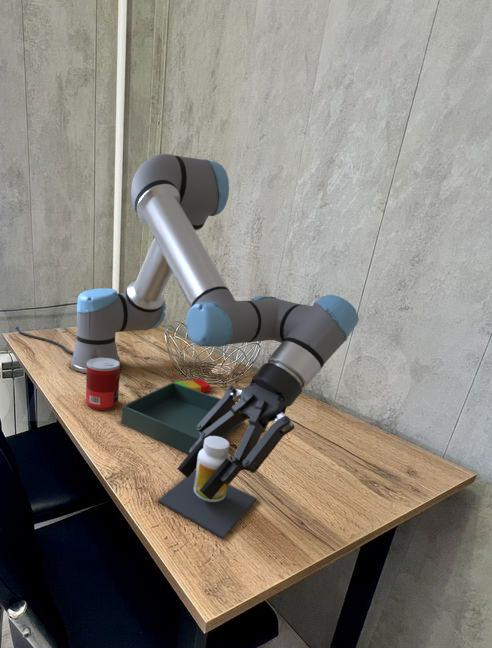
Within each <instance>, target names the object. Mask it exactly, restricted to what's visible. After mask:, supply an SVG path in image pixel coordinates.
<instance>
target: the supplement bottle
mask: <svg viewBox="0 0 492 648" xmlns="http://www.w3.org/2000/svg"><path fill="white" fill-rule="evenodd" d="M229 451H230V442H229V441H228V439H225V437H224V438H222V437H218V436H209V437H207V438H205V440H204V445H203V449H201V450H200V451H199V453H198V458H197V466H196V469H195V470H196V473H195V480H194V492H195V494H196V495H197V496H198V497H199V498H201V499H203V500H205V501H209V502H217V501H221V500H222V499H224V497H225V496H226V491H227V485H226V484H225V483H224V485H223V486H222V487H221V488H220V490H219V491H218V492H217V493H216V494H215V496H214V497H213V498H212V499H211V500H210V499H209V498H208V497H206V496H205V495H204V494H203V493H202V492H201V491H200V489H201V488H202V487H203V486H204V484H205V483H206V482H207V481H208V480H209V478H210V477H211V476H212V475H213V474H214V472H215V471H216V470H217V469H218V468H219V466H220V465H221V464H222V463H223V462H224V460H225V459H226V458H227V459H229V460H230V456H231V454H230V453H229ZM230 461H231V460H230ZM231 462H232V461H231Z"/></svg>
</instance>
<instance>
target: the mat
mask: <svg viewBox="0 0 492 648" xmlns="http://www.w3.org/2000/svg"><path fill="white" fill-rule="evenodd" d="M195 473H196V469H195V470H194V471H193V472H192V474H191V475H190V476H189V477H188V478H187V477H186V476H185V477H184V479H182V480H181V481H180V482H179V483H178V484H176V485H175V486H174V487H173V488H171V489H170V490H169V491H168V492H167V493H165V494H164V495H163V496H162V497H160V498H159V499H158V503H159V504H161V506H164V507H165V508H168V509H169V510H171V511H173V512H174V513H176V514H178V515H180V516H181V517H183V518H185V519H187V520H188V521H190V522H192V523H194V524H195V525H197V526H199V527H201V528H202V529H205V530H206V531H208V532H209V533H211V534H213V535H215V536H216V537H218V538H220V539H221V540H224V539H225V537H226V536H227V535H228V534H229V533H230V532H231V530H232V529H233V528H234V527H235V526H236V525H237V524H238V522H239V521H240V520H241V519H242V517H243V516H244V515H245V514H246V512H248V510H249V509H251V507H252V505H254V503H255V502H256V500H257V498H256V497H255V496H253V495H251V494H249V493H246V492H244V491H242V490H240V489H238V488H236V487H234V486H233V485H230V484H228V485H227V491H226V496H225V497H224V499H222V500H221V501H217V502H209V501H205V500H203V499H201V498H199V497H198V496H197V495H196V494H195V492H194V480H195Z"/></svg>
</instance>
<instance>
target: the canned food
mask: <svg viewBox="0 0 492 648" xmlns="http://www.w3.org/2000/svg"><path fill="white" fill-rule="evenodd" d="M120 375H121V362H120V363H119V362H118V361H117V360H114V359H110V358H94V359H90V360H89V361H87V373H86V379H85V380H86V381H85V383H86V385H85V386H86V387H85V402H86V405H87V407H89V408H90V409H93V410H96V411H109V410H113V409H115V408H116V407H117V406H118V403H119V393H120V392H119V391H120Z"/></svg>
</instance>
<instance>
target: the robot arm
mask: <svg viewBox="0 0 492 648" xmlns="http://www.w3.org/2000/svg"><path fill="white" fill-rule="evenodd" d="M229 196H230V181H229V177H228V172H227V171H226V169H225V167H224V166H223V165H222V164H221V163H219V162H217V161H213V160H209V159H207V158H203V159H201V158H195V157H188V156H182V155H175V154H170V153H160V154H155V155H153V156H151V157H149V158H148V159H146V160H145V161H144V162H143V163H141V165H140V166H139V167H138V168H137V170H136V172H135V174H134V176H133V177H132V182H131V188H130V197H131V202H132V206H133V209H134V211H135V213H136V215H137V217H138V219H139V221H141V222H142V223H144V224H146V225H148V228H149V230H150V231H151V234H152V235H153V239H152V241H151V243H150V245H149V246H150V247H149V249H148V251H147V253H146V256H145V258H144V260H143V263H142V265H141V267H140V270H139V273H138V275H137V276H136V280H134V281H132V282H130V283H129V284H128V286H127V288H126V290H125V292H123V293H119V292H118V290H116V289H114V288H111V287H110V288H109V287H106V288H104V287H103V288H102V287H99V288H92V289H88V290H84V291H82V292H81V293H79V295H78V296H77V305H76V343H75V346H74V349H73V351H72V350H68V349H67V348H66V347H65V346H64V345H63V344H61V343H58V342H57V341H54V340H52V339H49V338H46V337H42V336H38V335H33V334H30V333H26V332H23V331H21V330H20V327H19V326H16V327H15V330H17V332H18V333H19V334H21V335H23V336H26V337H30V338H34V339H37V340H42V341H45V342H49V343H52V344H54V345H57V346H58V347H60V348H61V349H62V350H63V351H65V352H66V353H68V354H71V357H70V367H71V368H72V369H73V370H74V371H77V372H78V373H81V374H82V373H83V374H87V361H89V360H90V359H94V358H110V359H114V360H117V361H118V362H119V363H120V364H121V359H120V356H119V353H118V349H117V345H116V333H124V332H137V331H143V332H145V331H149V330H153V329H157V328H159V327H160V326H161V324H162V323H163V321H164V319H165V316H166V312H165V311H166V310H167V305H166V300H165V297H164V294H163V293H164V291H165V289H166V288H167V285H168V284H169V281H170V279H171V277H172V275H173V276H174V278H175V281H176V282H177V285H178V287H179V288H180V291H181V292H182V294H183V296H184V298H185V301H186V302H187V304H188V306H189V309H188V311H187V314H186V318H185V326H186V327H187V330H186V334H187V336H188V337H189V339H190V340H191V342H192V343H193V344H195V345H196V346H198V347H202V348H203V347H205V348H206V347H208V348H209V347H210V348H211V347H216V348H219V347H224V346H229V345H234V344H235V345H236V344H244V343H245V344H246V343H247V344H248V343H255V342H256V343H258V342H264V341H265V342H266V341H275V342H278V343H280V344H279V345H278V346H277V348H276V349H275V350H274V351H273V352H272V353H271V354H270V356H269V357H267V359H266V361H267V362H265V363H263V364H262V365H261V366H260V368H259V369H258V370H257V371H256V372H255V374H253V376H252V378H251V382H250V383H249V384H248V385H247V386H245V387H243V388H242V389H238V388H235V387H234V386H233V385H229V386H228V387H227V388H226V389H225V392H224V394H223V396H222V397H220V400H219V401H218V403H217V404H216V405H215V406H214V407H213V408H212V409H211V410H210V411H209V413H208V414H207V415H206V416H205V417H204V418H203V419H202V420H201V421H200V423H199V424H198V425H197V426H196V429H197V430H198V431H199V433H200V438H199V439H198V440H197V441H196V443H195V444H194V445H193V446H192V447H191V448H190V450H189V453H190V454H187V456H186V457H185V458H184V460H183V461H182V462H181V463H180V465H178V467H177V468H176V470H177V471H178V472H180V473H181V475H183V476H185V478H186V477H187V478H188V477H189V476H190V475H191V474H192V472H193V471H194V470H196V466H197V458H198V453H199V451H200V450H201V449H203V445H204V440H205V438H207V437H209V436H218V437H221V436H222V435H224V434H225V433H226V432H228V431H229V430H230V429H231V428H233V427H234V426H235V425H237V424H238V423H239V422H242V423H244V422H245V421H246V420H248V426H247V428H246V430H245V431H244V433H243V436H242V438H241V440H240V442H239V444H238V446H237V448H236V449H235V452H234V454H233V456H231V455H230V460H231V461H230V460H229V459H227V458H226V459H225V460H224V462H223V463H222V464H221V465H220V466H219V468H218V469H217V470H216V471H215V472H214V474H213V475H212V476H211V477H210V478H209V480H208V481H207V482H206V483H205V484H204V486H203V487H202V488H201V489H200V491H201V492H202V493H203V494H204V495H205V496H206V497H208V498H209V499H210V500H211V499H212V498H213V497H214V496H215V494H216V493H217V492H218V491H219V490H220V488H221V487H222V486H223V485H224V483H225V484H226V485H230V484H231V483H232V482H233V481H234V479H235V478H236V477H237V476H238V474H239V473H240V472H241V471H247V472H250V474H254V473H256V472H257V471H258V470H259V469H260V468H261V466H262V465H263V463H264V462H265V461H266V459H267V458H268V457H269V456H270V455H271V453H272V452H273V450H274V449H275V448H276V447H277V446H278V444H279V443H280V441H281V440H282V439H283V437H285V436H286V435H287V434H289V433H290V432H292V431H294V429H295V424H294V423H293V421H292V420H291V419H290V417H289V416H287V415H286V410H287V408H289V407H291V406H292V405H293V404H294V403H295V401H296V400H297V399H298V398H299V397H300V395H301V394H303V389H304V388H307V387H308V385H309V384H310V383H311V382H312V381H313V379H314V378H315V377H316V376H317V374H319V372H320V371H321V370H322V369H323V367H324V365H325V364H326V363H327V362H328V360H329V359H330V358H331V357H332V356H333V355H334V354H335V353H336V351H338V350H339V348H340V347H341V346H342V345H343V344H344V343H345V342H346V341H348V338H349V336H350V335H351V333H352V332H353V331H354V329H355V328H356V326H357V325H358V324H359V319H360V318H359V313H357V312H358V311H357V309H356V308H355V307H354V305H352V303H350V302H349V301H348V300H347V299H346V298H343V297H340V296H339V295H335V294H325V295H322V296H320V297H319V298H318V299H317V300H315V301H314V303H313V305H308V304H302V303H298V302H297V303H296V302H293V301H288V300H286V299H285V300H284V299H281V298H277V297H276V296H265V295H257V296H254V297H253V298H251V299H250V300H236V299H235V297H234V296H233V294H232V292H231V291H230V289H229V287H228V286H227V284H226V282H225V281H224V279H223V277H222V275H221V273H220V272H219V270H218V268H217V266H216V264H215V263H214V261H213V260H212V258H211V256H210V254H209V253H208V251H207V249H206V247H205V246H204V244H203V242H202V241H201V239H200V237H199V235H198V233H197V232H196V231H200V230H201V229H203V227H204V225H205V224H206V222H207V219H208V218H209V217H216V216H217V215H220V214H221V213H222V212H223V211H224V209H225V208H226V206H227V204H228V203H227V202H228V200H229ZM239 411H240V412H241V413H242V414H241V413H239ZM273 421H274V422H273ZM271 422H273V423H272V424H271V425H270V426H269V423H271ZM268 426H269V427H268ZM267 427H268V429H267ZM266 429H267V430H266ZM262 434H263V435H262Z"/></svg>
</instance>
